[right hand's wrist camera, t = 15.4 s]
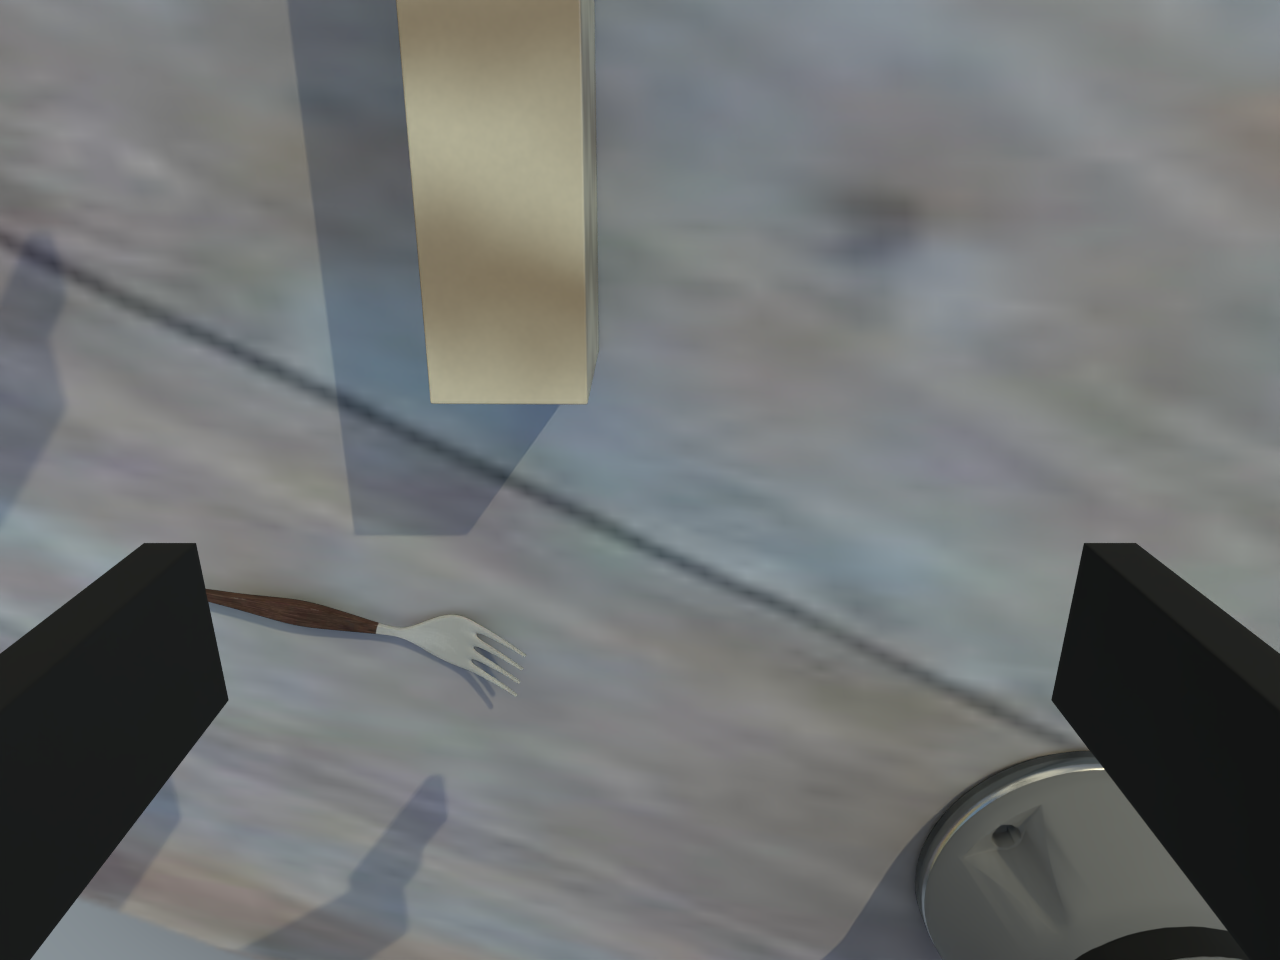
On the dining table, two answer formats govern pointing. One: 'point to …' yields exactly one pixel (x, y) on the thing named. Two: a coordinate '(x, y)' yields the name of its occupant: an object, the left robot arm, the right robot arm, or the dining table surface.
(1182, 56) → the dining table surface
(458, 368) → the plank
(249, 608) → the fork
